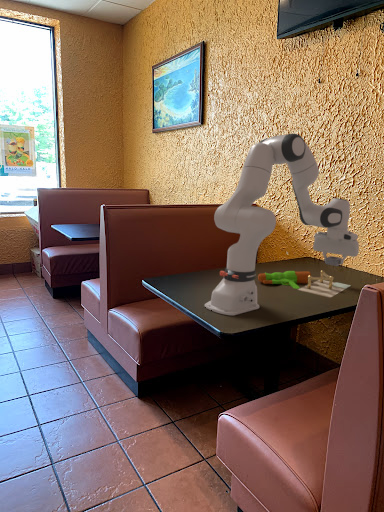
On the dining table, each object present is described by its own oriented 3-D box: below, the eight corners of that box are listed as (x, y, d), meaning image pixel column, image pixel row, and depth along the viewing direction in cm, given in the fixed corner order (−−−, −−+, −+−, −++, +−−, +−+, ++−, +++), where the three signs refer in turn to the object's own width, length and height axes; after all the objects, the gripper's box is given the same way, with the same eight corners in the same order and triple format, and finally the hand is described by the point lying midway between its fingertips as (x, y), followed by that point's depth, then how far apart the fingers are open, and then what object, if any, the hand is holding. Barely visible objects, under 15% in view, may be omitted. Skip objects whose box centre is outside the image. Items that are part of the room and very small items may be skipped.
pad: (345, 289, 172) (345, 288, 172) (330, 285, 176) (330, 285, 176) (350, 286, 177) (350, 285, 177) (336, 282, 182) (336, 282, 182)
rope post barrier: (325, 293, 164) (326, 279, 163) (305, 288, 170) (307, 275, 169) (338, 286, 176) (340, 273, 175) (320, 281, 182) (321, 269, 181)
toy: (317, 283, 168) (309, 268, 181) (261, 284, 169) (257, 268, 183) (316, 296, 171) (308, 280, 184) (260, 296, 172) (257, 280, 186)
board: (329, 300, 159) (330, 297, 159) (296, 292, 168) (297, 289, 168) (350, 288, 177) (350, 286, 177) (319, 281, 187) (319, 279, 187)
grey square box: (337, 266, 173) (337, 259, 173) (325, 263, 177) (326, 257, 176) (341, 264, 178) (341, 257, 177) (329, 262, 181) (330, 256, 180)
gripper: (312, 231, 178) (309, 260, 181) (357, 237, 165) (353, 267, 168) (317, 230, 183) (314, 258, 186) (361, 235, 170) (357, 265, 173)
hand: (333, 262), depth 177 cm, fingers closed on grey square box, 5 cm apart
